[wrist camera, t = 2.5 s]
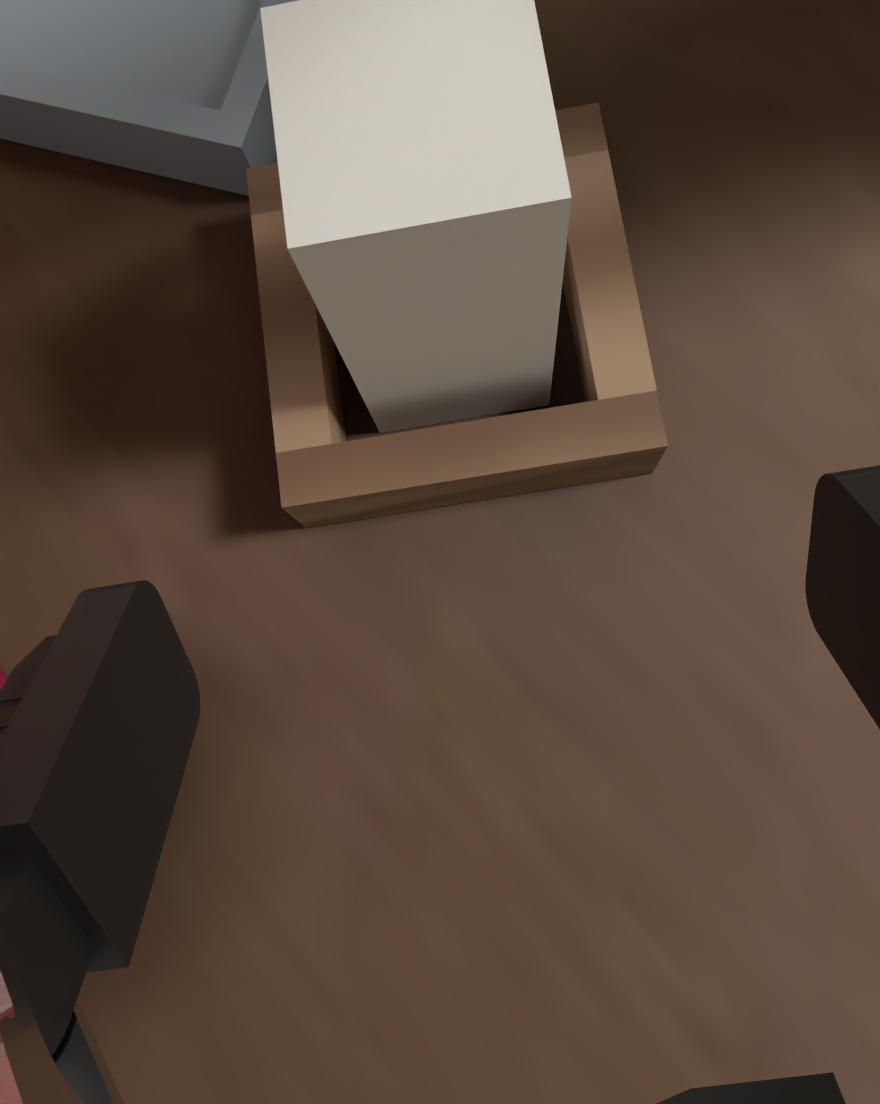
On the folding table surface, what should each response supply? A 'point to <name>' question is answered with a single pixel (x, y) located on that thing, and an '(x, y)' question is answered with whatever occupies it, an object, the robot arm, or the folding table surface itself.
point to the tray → (141, 84)
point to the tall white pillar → (424, 197)
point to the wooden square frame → (480, 445)
